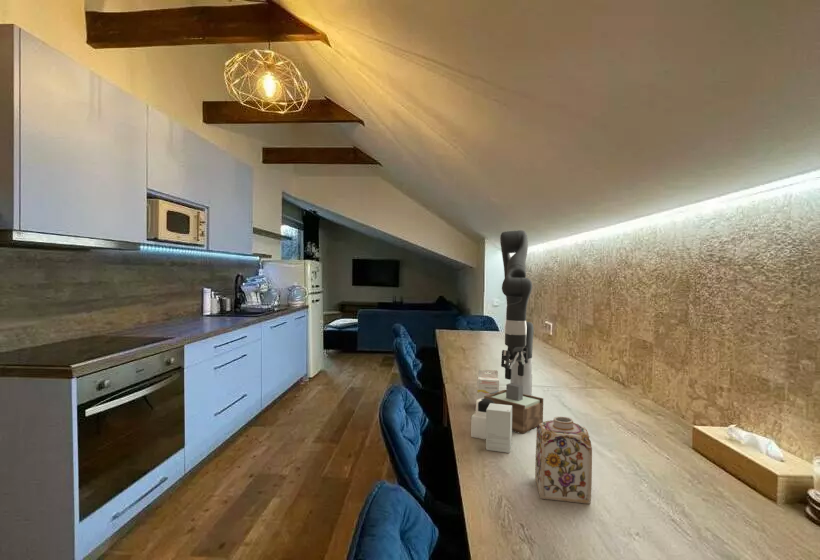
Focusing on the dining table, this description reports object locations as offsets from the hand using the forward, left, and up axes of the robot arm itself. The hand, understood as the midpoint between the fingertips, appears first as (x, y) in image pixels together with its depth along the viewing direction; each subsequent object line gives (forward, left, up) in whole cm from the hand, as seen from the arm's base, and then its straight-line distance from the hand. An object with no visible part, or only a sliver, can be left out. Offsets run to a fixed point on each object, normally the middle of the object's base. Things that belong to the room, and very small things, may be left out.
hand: (514, 377), depth 158 cm
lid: (0, 0, -9) cm, 9 cm away
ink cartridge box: (-10, -18, -17) cm, 27 cm away
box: (0, 0, -17) cm, 17 cm away
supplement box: (+23, +9, -17) cm, 30 cm away
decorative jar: (+35, +35, -17) cm, 52 cm away
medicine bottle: (+18, 0, -17) cm, 25 cm away
